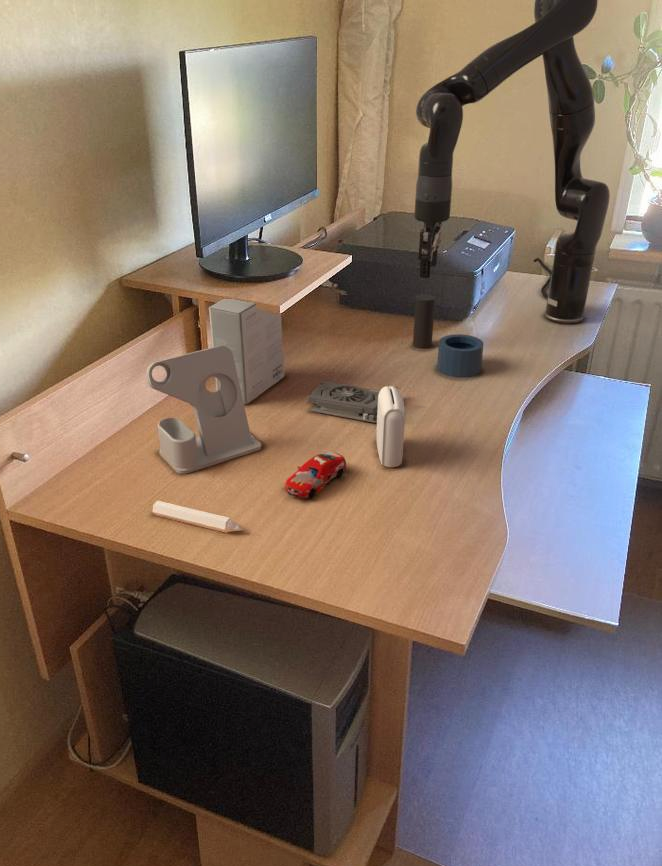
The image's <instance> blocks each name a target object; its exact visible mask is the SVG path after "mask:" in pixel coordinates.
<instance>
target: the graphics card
mask: <svg viewBox="0 0 662 866" xmlns="http://www.w3.org/2000/svg"><path fill="white" fill-rule="evenodd" d="M394 387H395V388H397V389H398V390H399V387H398V385H395V386H394ZM380 391H381V390H378V389H374V388H373V389H372V388H366V387H360V386H355V385H348V384H341V383H335V382H331V381H326V380H325V381H324V380H323V381H320V385H319V386H317V387H316V388H314V389H313V390H312V391H311V394H307V395H306V401H307V403H310V404H314V406H313V407H311V409H310V412H315V413H320V414H324V415H330V416H336V417H342V418H348V419H353V420H358V421H364V422H369V423H374V424H377V410H378V395H379V392H380Z"/></svg>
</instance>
